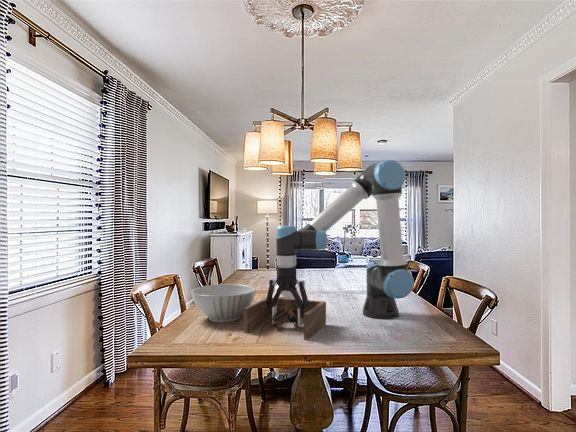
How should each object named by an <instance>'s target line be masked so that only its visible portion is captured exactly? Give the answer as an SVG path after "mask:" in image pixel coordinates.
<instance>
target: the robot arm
mask: <svg viewBox="0 0 576 432" xmlns="http://www.w3.org/2000/svg"><path fill="white" fill-rule="evenodd" d="M405 181H406V170H405V168H404V167H403V166H402V165H401V163H399V162H398V161H396V160H392V159H387V160H385V159H384V160H381V161H379V162H376V163H373V164H370V165H369V166H367V168H365V169H364V170H363V171H362V172H361V173H360V174H359V175H358V176H357V177H356V178H355V179H354V180H353V181H352V182H351V185H350V187H348V188H347V189H346V190H345V191H344V192H342V194H340V195H339V196H338V197H337V198H336V199H335V200H334V201H332V202H331V203H330V204H329V205H328V206H327V207H326V208H324V209H323V210H322V211H321V212H320V213H319V214H317V215H316V216H315V217H314V218H312V220H311V221H309V222H308V223H307V224H306V225H305V226H304V227H303V228H300V229H297V227H296V226H295V225H279V226H277V227H276V236H275V237H276V238H275V241H276V244H275V245H276V246H275V247H276V249H275V250H276V266H277V267H276V279H274V278H273V279H270V280H268V281H269V282H268V284H269V287H268V291H267V295H266V297H265V298H266V302H265V304H266V305H269V306H270V314H271V315H272V317H273V316H275V314H276V313H277V306H274V305H275V303H276V302H277V300H278V298H279V296H280V294H281V292H282V291H290V292H291V293H292V294H293V296H294V298H295V300H296V302H297V304H298V306H299V309H298V327H299V328H300V327H302V326H303V323H302V318H303V317H304V313H305V311H304V309H305V308H307V307H308V306H309V302H308V300H309V299H308V295H307V291H306V288H305V285H306V284H305V282H306V281H305V280H298V279H297V267H296V266H297V251H321V250H325V249H327V246H328V235H327V231H328V230H330V229H331V228H332V227H333V226H335V225H336V224H337V222H339V221H340V220H341V219H342V218H344V216H346V215H347V214H348V213H349V212H350V211H352V210H353V209H354V208H355V207H356V206H357V205H358V204H359V203H360V202H362V201H363V200H368V199H369V198H370V197H371V196H372V198H374V199H375V201H376V211H377V212H376V213H377V224H378V237H379V249H380V250H379V251H380V260H379V261H369V262H367V264H366V268H365V269H366V271H365V272H366V298H365V301H364V303H363V307H362V315H363V316H365V317H367V318H370V319H371V318H372V319H380V320H381V319H382V320H390V319H396V318H398V317H399V312H400V311H399V307H398V305H397V301H396V299H397V300H398V299H404V298H406V297H407V296H409V295H410V293H411V292H412V291H413V289H414V284H415V280H414V277H413V275H412V273H411V272H410V271H409V265H408V261H406V259H405V258H404V252H403V241H402V238H403V237H402V227H401V215H400V203H399V202H400V201H399V198H400V197H401V196H402V194H403V188H402V186H403V185H404V183H405ZM277 285H278V286H279V287H278V289H277V292H276V293H275V286H277ZM295 286H297V287H298V288H297V289H296V287H295ZM298 289H299V292H298ZM274 293H275V295H274ZM299 293H300V294H299ZM273 296H274V297H273ZM272 297H273V299H272ZM271 299H272V301H271ZM302 300H303V302H302ZM275 317H276V316H275ZM271 322H272V323H271V324H272V325H274V324H273V320H271Z"/></svg>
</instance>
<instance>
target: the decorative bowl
mask: <svg viewBox="0 0 576 432" xmlns="http://www.w3.org/2000/svg"><path fill="white" fill-rule="evenodd" d="M256 292H257V289H256V287H254V286H251V285H245V284H240V283H239V284H238V283H237V284H236V283H231V284H230V283H223V284H221V283H220V284H210V285H202V286H198V287H195V288H193V289H191V291H190V293H191V297H192V300H193V302H194V304H195V306H196V307H197V309H198V310H199V311H200V312H201V313H202V314H204V316H206V317H208V319H209V321H211V322H215V323H230V322H234V321H238V319H240V316H241V315H243V314H244V308H245V307H247V306H250V305H252V304H253V301H254V299H255V296H256Z"/></svg>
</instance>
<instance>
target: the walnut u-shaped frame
mask: <svg viewBox="0 0 576 432" xmlns="http://www.w3.org/2000/svg"><path fill="white" fill-rule="evenodd" d="M266 298H267V297H265V298H263V299H261V300H259V301H256V302H254V303H251V305H250V306H247V307H245V308H244V313H243V333H244V334H245V333H246V334H248V333H250V332H251V331H254V330H255V329H257V328H259V327H260V326H263V324H265V323H267V322H269V321H272V315H271V314H270V306H269V305H266V304H265V302H266ZM272 299H273V296H272ZM272 299H271V301H272ZM301 300H302V299H301ZM302 302H303V300H302ZM308 302H309V306H308V307H307V308H305V309H304V311H305V313H304V317H303V318H302V324H303V341H309V340H311V338H313V337H314V336H315V335H316V334H317V333H318V332H319V331H321V330H322V329H323V328H324V327H325V326H326V324H327V314H326V313H327V302H326V301H322V300H320V301H319V300H310V299H308ZM274 306H277V312H279V311H280V310H282V309H284V308H288V310H290V309H292V308H293V309H295V310H296V311H297V321H298V309H299V306H298V304H297V302H296V300H295V299H287V298H278V300H277V302H276V303H275V305H274ZM288 318H289V317H288ZM281 322H288V323H291V322H290V320H289V319H288V320H285V319H282V318H281Z"/></svg>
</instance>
